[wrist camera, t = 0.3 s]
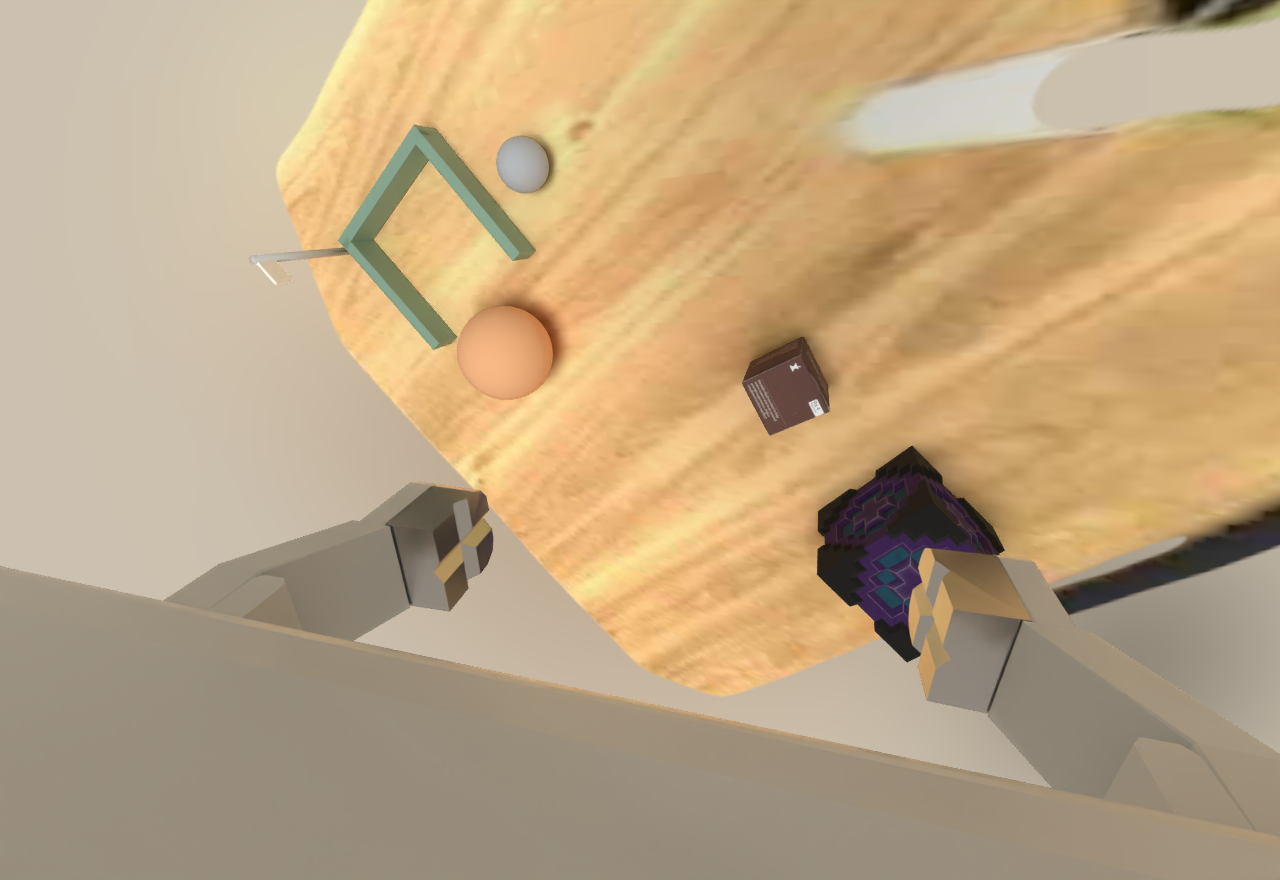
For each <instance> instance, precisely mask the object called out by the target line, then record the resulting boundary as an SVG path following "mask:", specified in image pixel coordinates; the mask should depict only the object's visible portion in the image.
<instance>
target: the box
mask: <svg viewBox="0 0 1280 880" xmlns="http://www.w3.org/2000/svg"><path fill="white" fill-rule="evenodd" d="M742 384H743V386H744V388H745V390H746V392H747V394H748V396H749V398H750V400H751V402H752V404H753V406H754V407H755V409H756V411H757V413H758V415H759V417H760V419H761V421H762V423H763V424H764V426H765V428H766V430H767V432H768V433H769V435H773V434H775V433H777V432H780V431H782V430H785V429H787V428H790V427H792V426H795V425H797V424H800V423H802V422H804V421H807V420H809V419H812V418H814V417H817V416H819V415H822V414H824V413H827V412H829V411H830V408H829V394H828V385H827V383H826V381H825V379H824V377H823V375H822V372H821V370H820V368H819V366H818V364H817V362H816V360H815V358H814V356H813V354H812V352H811V350H810V348H809V346H808V344H807V342H806V340H805V338H804V337H802V338H800V339H798V340H795V341H793V342H791V343H789V344H787V345H785V346H783V347H781V348H779V349H777V350H775V351H773V352H771V353H769V354H767V355H765V356H763V357H761V358H759V359H757V360H754V361H752V362H751V363H750V365H749V367H748V370H747V372H746V375H745V377H744V380H743V382H742Z"/></svg>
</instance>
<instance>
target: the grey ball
mask: <svg viewBox="0 0 1280 880" xmlns="http://www.w3.org/2000/svg"><path fill="white" fill-rule="evenodd" d="M497 170H498V173H499V175H500V177H501V179H502V181H503V182H504V183H505V184H506V185H507V186H508V187H509V188H510V189H512V190H514V191H516V192H519V193H531V192H534V191H536V190H538V189H539V188H540V187H541V186H542V185H543V184H544V183H545V181H546V179H547V176H548V172H549V163H548V158H547V155H546V153H545V151H544V150H543V148H542V147H541V146H540V144H538V143H537V142H536V141H535V140H533V139H531V138H529V137H525V136H516V137H512V138H510V139H508V140H507V141H505V142H504V143H503V144H502V146H501V147H500V149H499V151H498V154H497Z"/></svg>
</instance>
